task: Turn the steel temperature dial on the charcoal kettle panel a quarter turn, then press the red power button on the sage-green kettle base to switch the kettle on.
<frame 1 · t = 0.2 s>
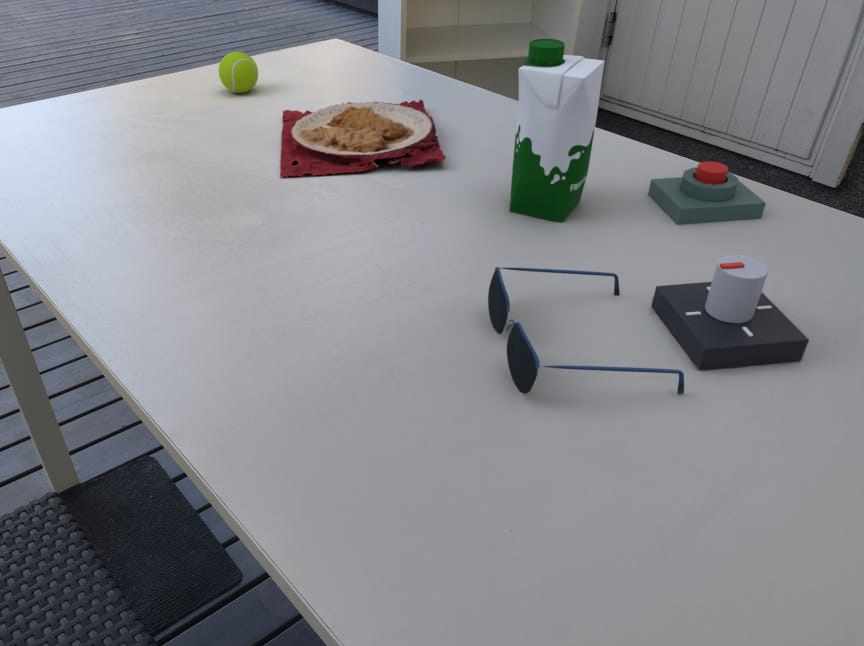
milk carton: (545, 208, 97), on the table
plate with food: (358, 142, 116), on the table
kettle base: (702, 206, 96), on the table
sunglasses: (575, 346, 72), on the table
dial panel: (721, 332, 74), on the table
temp dial: (736, 287, 70), point 5 cm above the table, hinge at 0.0°
power button: (711, 173, 93), point 4 cm above the table, slide at 0.1 cm
tennis ball: (241, 93, 137), on the table
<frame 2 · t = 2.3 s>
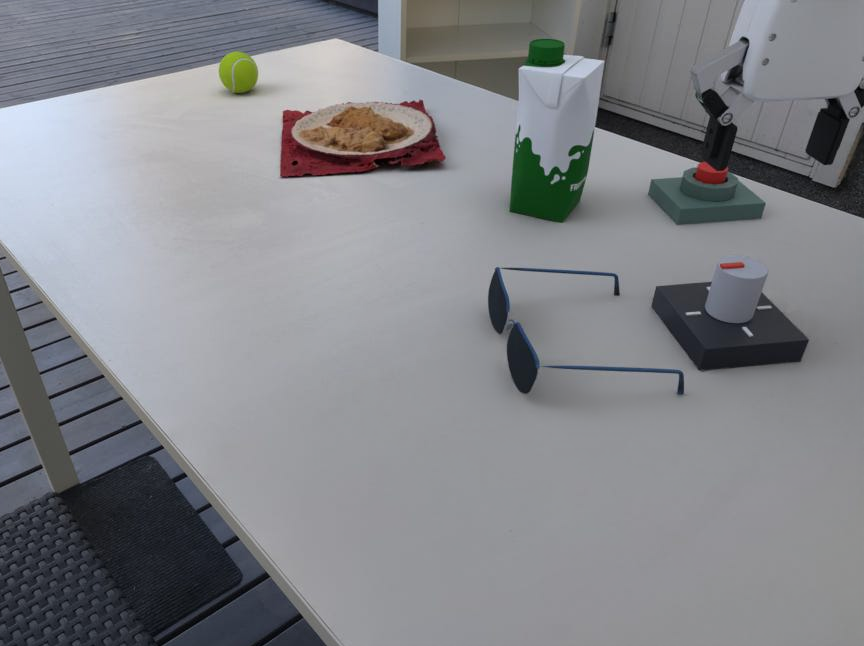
hand: (765, 162, 65), 17 cm above the table, tool pointing down, fingers open, 9 cm apart
nothing on the table moved.
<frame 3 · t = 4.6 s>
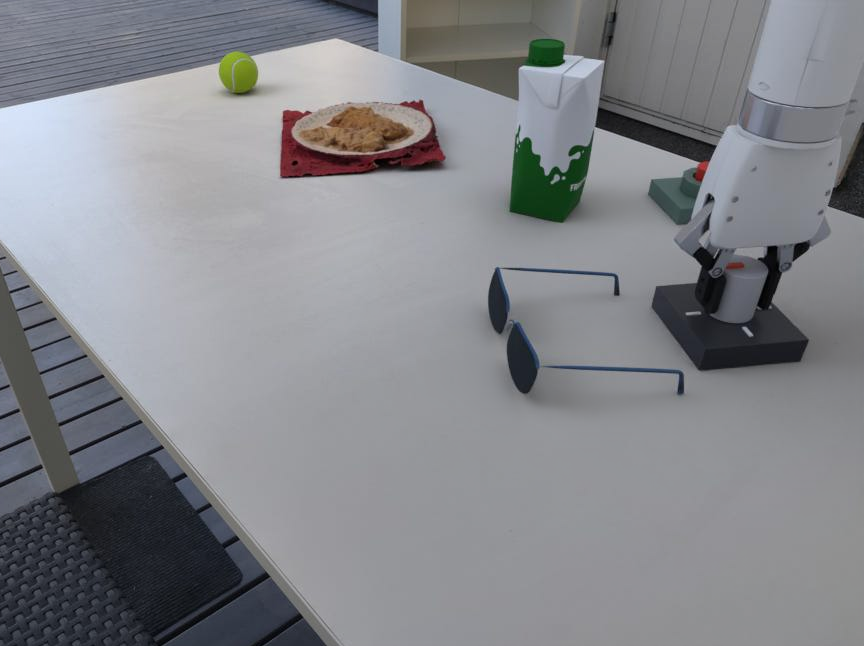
hand: (731, 302, 71), 4 cm above the table, tool pointing down, fingers closed on temp dial, 4 cm apart
temp dial: (736, 287, 70), point 5 cm above the table, hinge at -0.1°, touching gripper
everything else where it was.
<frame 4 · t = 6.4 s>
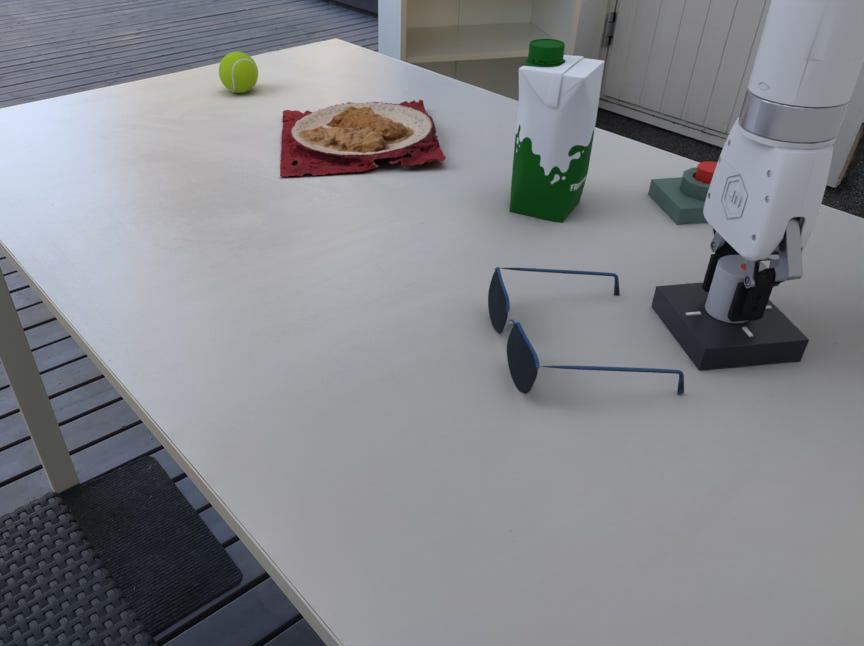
hand: (731, 302, 71), 4 cm above the table, tool pointing down, fingers closed on temp dial, 4 cm apart
temp dial: (736, 287, 70), point 5 cm above the table, hinge at 89.8°, touching gripper
everything else where it was.
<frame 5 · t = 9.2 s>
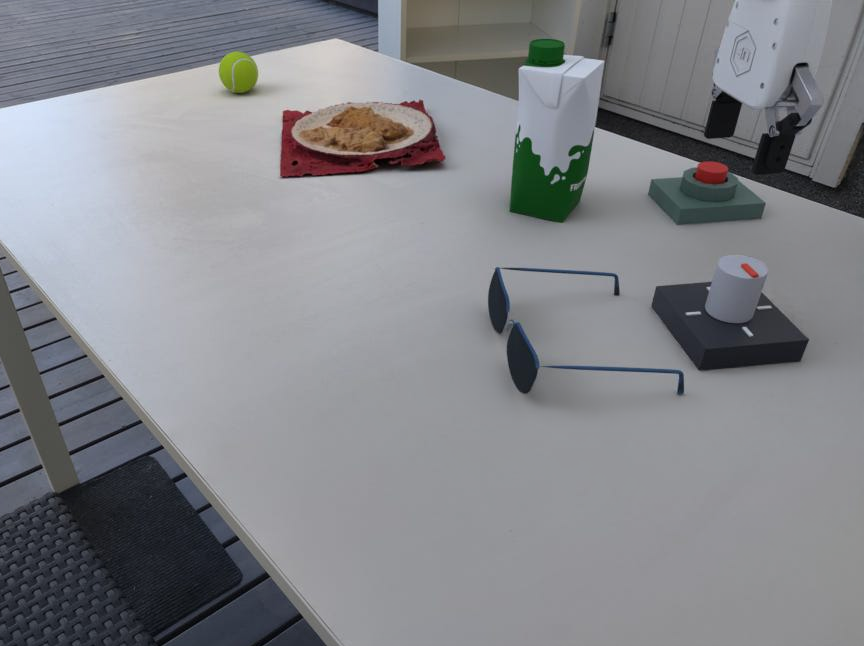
hand: (741, 154, 77), 13 cm above the table, tool pointing down, fingers open, 9 cm apart
temp dial: (736, 287, 70), point 5 cm above the table, hinge at 91.4°
everything else where it was.
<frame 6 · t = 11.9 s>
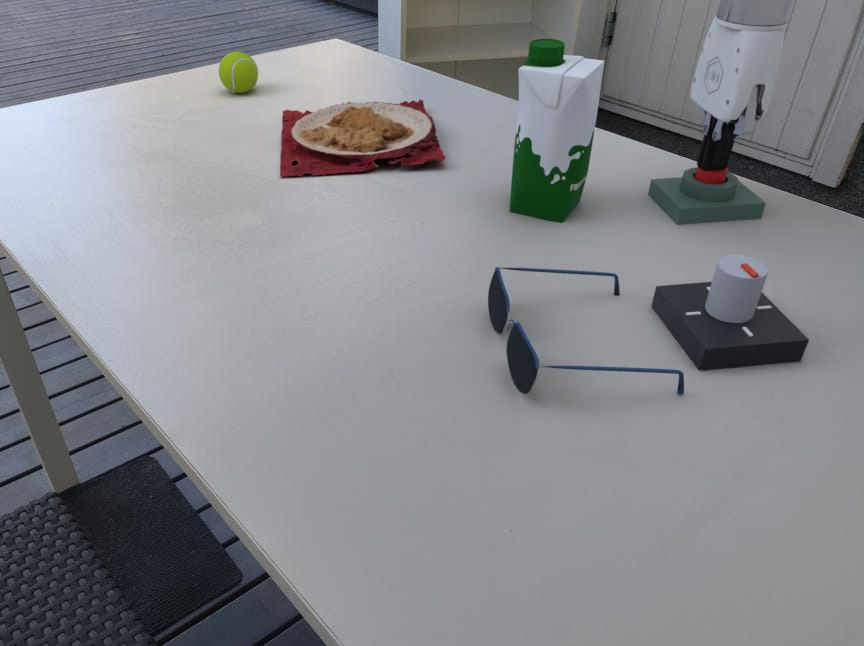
hand: (711, 167, 93), 5 cm above the table, tool pointing down, fingers closed
power button: (711, 174, 93), point 4 cm above the table, slide at 0.0 cm, touching gripper
everything else where it was.
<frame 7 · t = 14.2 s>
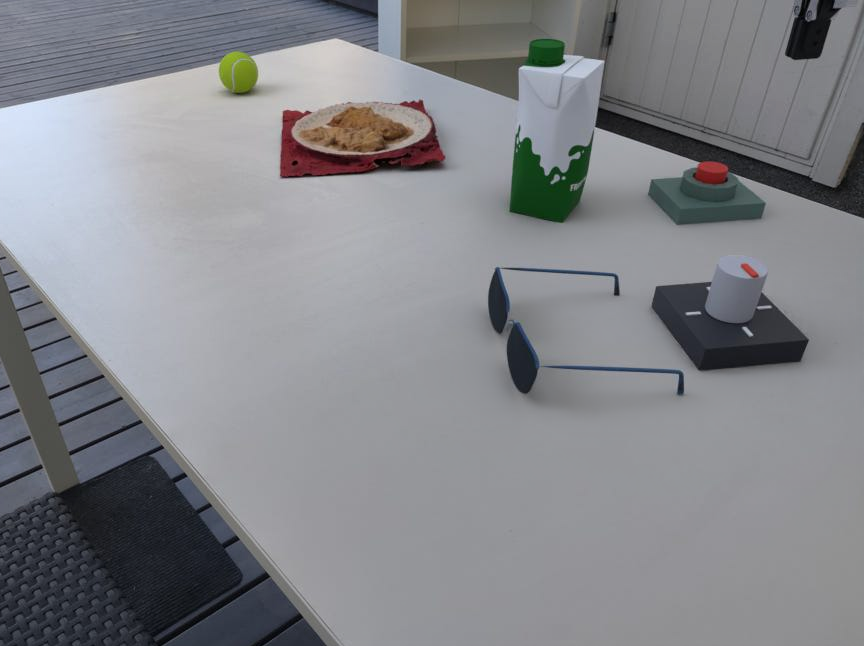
hand: (802, 56, 81), 19 cm above the table, tool pointing down, fingers closed
power button: (711, 173, 93), point 4 cm above the table, slide at 0.1 cm
everything else where it was.
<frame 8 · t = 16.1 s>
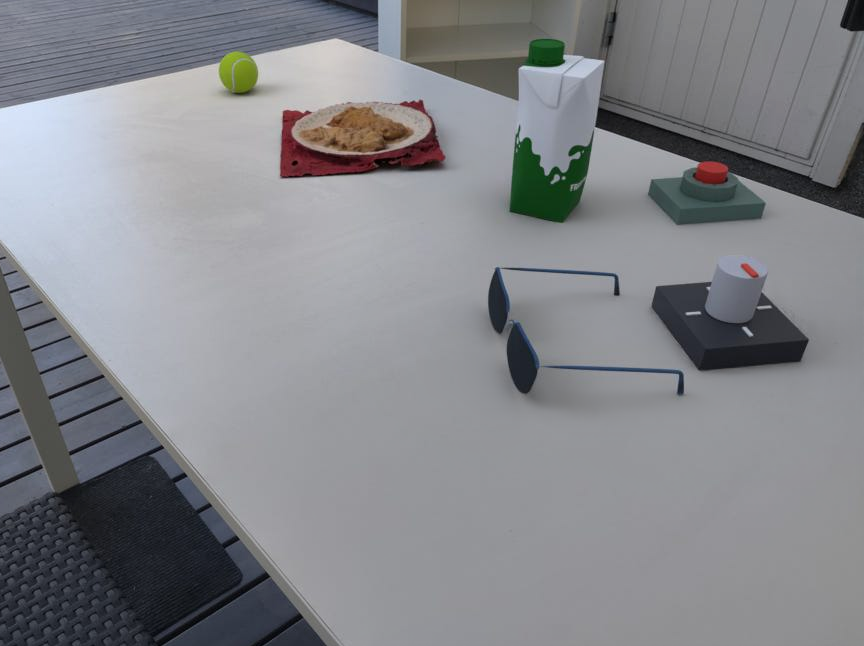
hand: (858, 28, 76), 23 cm above the table, tool pointing down, fingers closed
nothing on the table moved.
at the end: temp dial at +91° (first picture: +0°); power button pushed in 1.1 cm at the most during the clip, back to where it started at the end; power button slide at 0.1 cm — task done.
